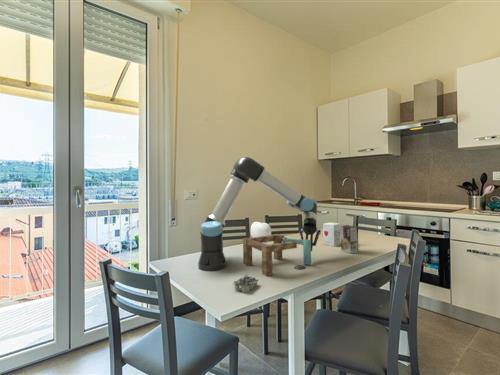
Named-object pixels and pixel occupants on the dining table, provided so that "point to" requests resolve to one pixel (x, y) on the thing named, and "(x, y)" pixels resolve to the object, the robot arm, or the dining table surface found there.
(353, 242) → the coffee box
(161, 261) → the dining table surface
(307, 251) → the folding leg
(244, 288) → the grey knobbly lump
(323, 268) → the dining table surface
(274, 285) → the dining table surface
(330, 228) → the supplement box
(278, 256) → the stool frame
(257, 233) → the decorative heart
